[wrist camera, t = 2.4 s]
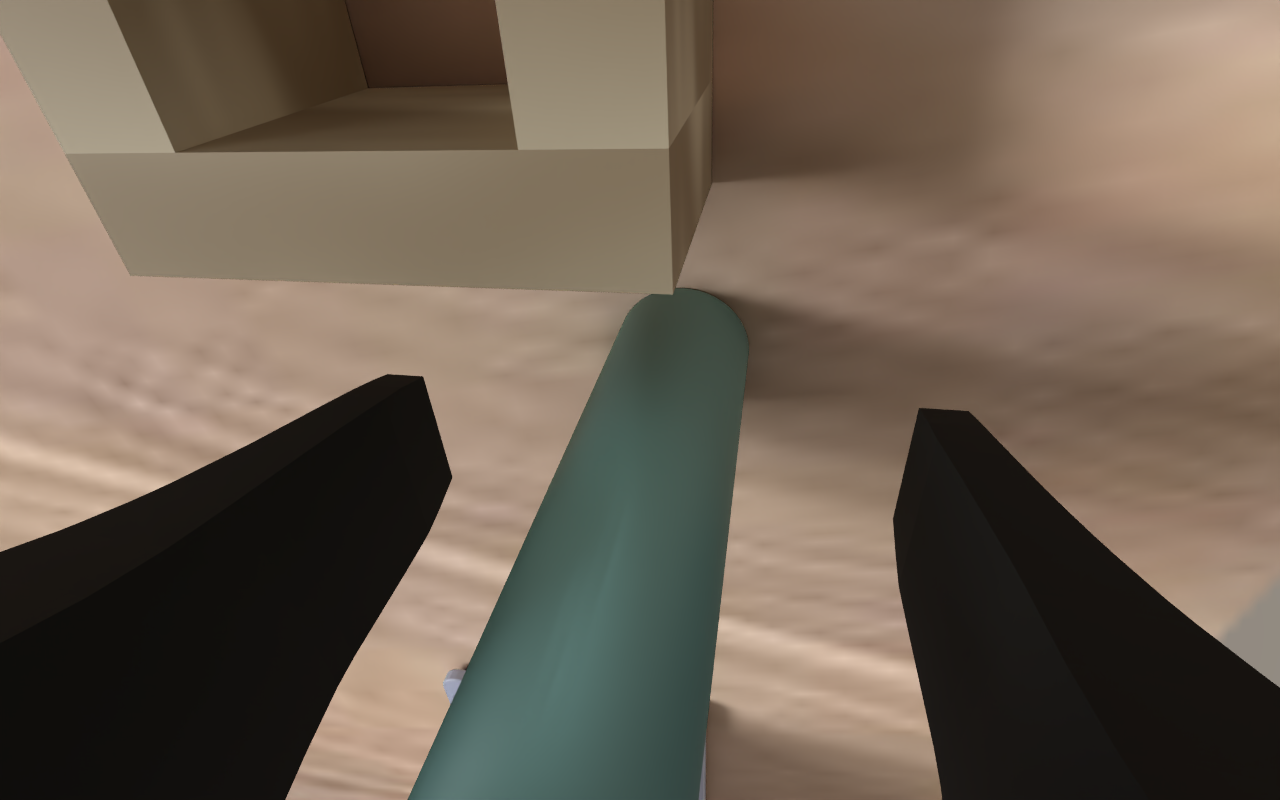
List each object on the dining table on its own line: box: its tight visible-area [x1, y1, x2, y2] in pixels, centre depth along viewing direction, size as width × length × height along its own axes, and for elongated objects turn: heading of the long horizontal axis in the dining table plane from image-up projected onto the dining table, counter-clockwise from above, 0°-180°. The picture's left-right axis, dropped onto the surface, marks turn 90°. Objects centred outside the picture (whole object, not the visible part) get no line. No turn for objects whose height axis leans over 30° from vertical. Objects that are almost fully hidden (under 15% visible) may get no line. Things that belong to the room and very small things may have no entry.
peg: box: [408, 288, 749, 800], centre depth 8 cm, size 2×2×9 cm
